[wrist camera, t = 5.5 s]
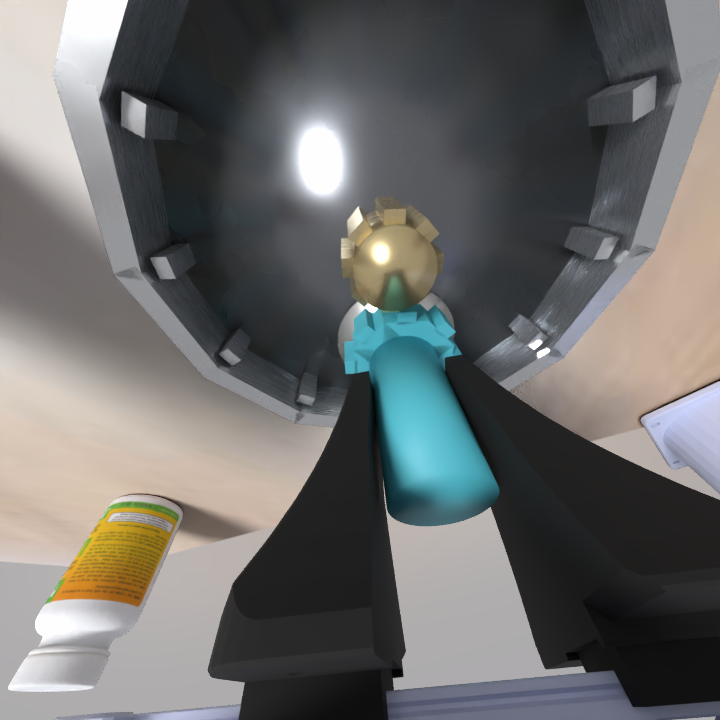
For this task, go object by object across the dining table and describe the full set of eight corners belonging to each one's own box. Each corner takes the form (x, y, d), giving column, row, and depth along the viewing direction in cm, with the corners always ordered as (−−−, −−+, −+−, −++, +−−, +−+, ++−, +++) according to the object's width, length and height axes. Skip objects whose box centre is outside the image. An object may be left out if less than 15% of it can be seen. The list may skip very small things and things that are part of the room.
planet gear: (471, 341, 12) (574, 493, 7) (393, 398, 14) (426, 551, 9) (402, 271, 10) (472, 411, 5) (322, 349, 12) (307, 511, 7)
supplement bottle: (104, 489, 21) (-37, 688, 13) (181, 495, 22) (94, 682, 14) (120, 520, 24) (15, 695, 16) (187, 523, 25) (118, 690, 17)
